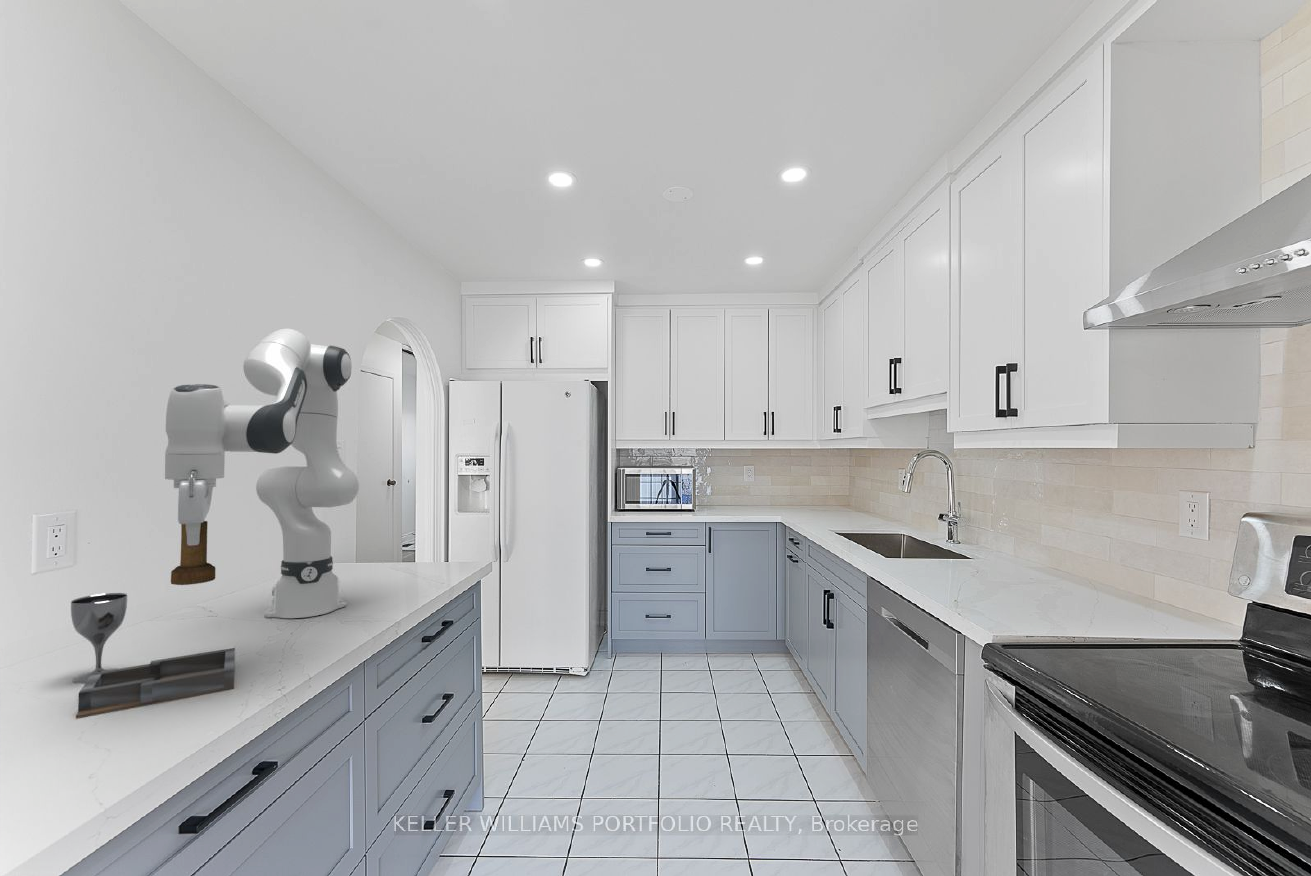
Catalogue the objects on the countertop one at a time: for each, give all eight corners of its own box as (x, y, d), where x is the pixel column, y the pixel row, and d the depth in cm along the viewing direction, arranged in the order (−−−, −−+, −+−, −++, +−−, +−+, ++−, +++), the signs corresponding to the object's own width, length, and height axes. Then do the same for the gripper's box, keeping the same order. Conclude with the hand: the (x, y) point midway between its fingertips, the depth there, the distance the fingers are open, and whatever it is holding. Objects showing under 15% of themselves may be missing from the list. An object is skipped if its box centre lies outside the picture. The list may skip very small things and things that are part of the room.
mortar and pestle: (190, 586, 106) (192, 487, 107) (161, 584, 108) (163, 486, 108) (224, 578, 113) (225, 484, 113) (196, 576, 114) (197, 484, 114)
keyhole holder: (93, 689, 107) (93, 670, 107) (234, 664, 119) (234, 647, 119) (75, 718, 96) (76, 697, 96) (233, 688, 108) (234, 669, 108)
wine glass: (59, 686, 108) (61, 605, 108) (82, 671, 116) (84, 595, 116) (114, 680, 111) (116, 601, 111) (133, 665, 119) (134, 591, 119)
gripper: (214, 471, 104) (213, 549, 104) (218, 467, 120) (217, 534, 120) (168, 472, 100) (166, 553, 100) (178, 467, 117) (177, 537, 117)
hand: (194, 542), depth 110 cm, fingers closed on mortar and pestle, 4 cm apart
